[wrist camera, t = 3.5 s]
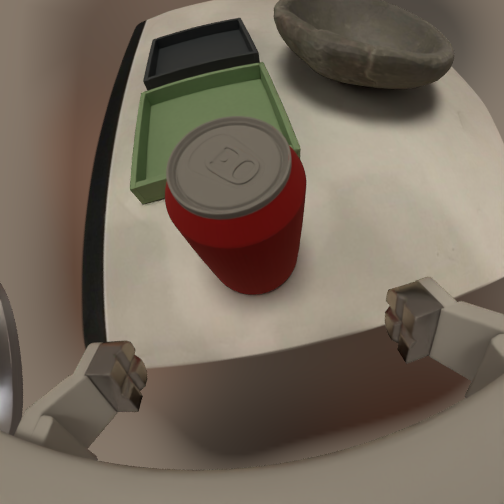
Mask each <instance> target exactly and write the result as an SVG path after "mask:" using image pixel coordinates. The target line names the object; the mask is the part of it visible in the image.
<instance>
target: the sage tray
mask: <svg viewBox="0 0 504 504" xmlns="http://www.w3.org/2000/svg"><path fill="white" fill-rule="evenodd" d="M229 116H245V117H252V118H256V119H259V120H262V121H265V122H267V123H269V124H270V125H272V126H274V127H275V128H276V129H277V130H279V131H280V132H281V134H282V135H283V136H284V137H285V139H286V140H287V142H288V144H289V146H290V147H291V148H292V149H293V150H294V151H295V152H296V154H297V155H298V157H299V159H300V146H299V144H298V141H297V139H296V136H295V134H294V131H293V129H292V126H291V124H290V121H289V119H288V116H287V114H286V112H285V109H284V107H283V105H282V102H281V100H280V98H279V96H278V93H277V91H276V89H275V87H274V84H273V82H272V80H271V78H270V76H269V74H268V71H267V69H266V67H265V65H264V63H263V62H261V63H254V64H248V65H243V66H237V67H232V68H227V69H223V70H218V71H214V72H209V73H205V74H201V75H197V76H194V77H190V78H186V79H183V80H179V81H176V82H173V83H169V84H166V85H163V86H160V87H157V88H154V89H151V90H148V91H146V92H143V93H141V97H140V103H139V109H138V116H137V123H136V130H135V138H134V147H133V157H132V168H131V181H130V190H131V191H132V193H133V194H134V195H135V196H136V197H137V198H138V200H139V201H140V202H141V203H142V204H146V203H149V202H153V201H156V200H160V199H163V198H165V187H166V182H167V179H166V168H167V163H168V160H169V157H170V155H171V153H172V151H173V149H174V148H175V146H176V145H177V144H178V142H179V141H180V140H181V139H182V138H183V137H184V136H185V135H186V134H188V133H189V132H190V131H192V130H193V129H195V128H196V127H198V126H200V125H202V124H204V123H206V122H209V121H211V120H214V119H218V118H222V117H229Z"/></svg>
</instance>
